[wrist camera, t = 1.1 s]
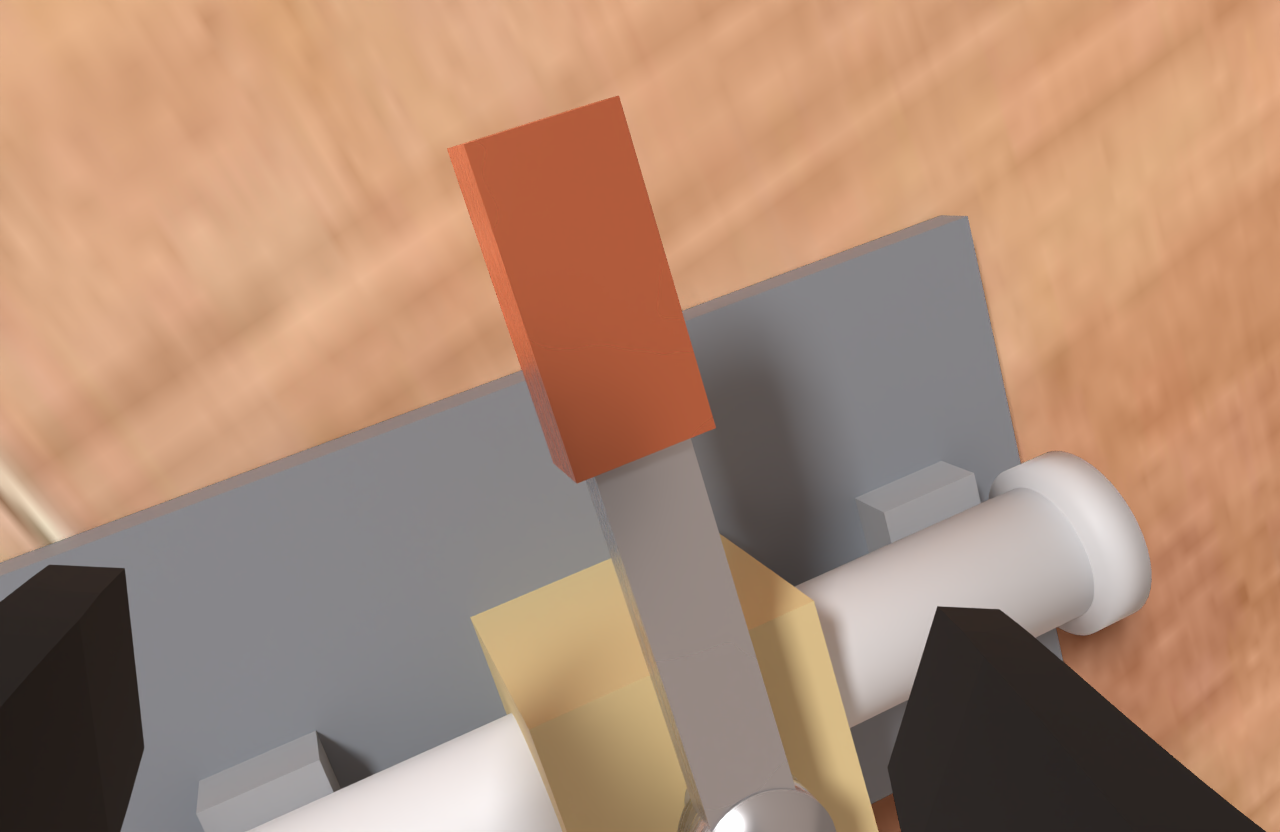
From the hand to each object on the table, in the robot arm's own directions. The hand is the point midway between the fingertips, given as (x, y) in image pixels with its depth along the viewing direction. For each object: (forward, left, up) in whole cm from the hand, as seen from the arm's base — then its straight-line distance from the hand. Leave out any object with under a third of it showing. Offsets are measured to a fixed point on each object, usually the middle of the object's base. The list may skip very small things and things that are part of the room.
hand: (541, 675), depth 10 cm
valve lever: (+3, -1, -5) cm, 6 cm away
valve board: (+3, -6, -12) cm, 14 cm away
